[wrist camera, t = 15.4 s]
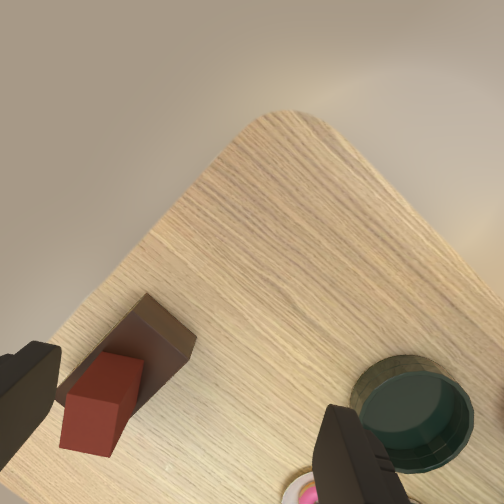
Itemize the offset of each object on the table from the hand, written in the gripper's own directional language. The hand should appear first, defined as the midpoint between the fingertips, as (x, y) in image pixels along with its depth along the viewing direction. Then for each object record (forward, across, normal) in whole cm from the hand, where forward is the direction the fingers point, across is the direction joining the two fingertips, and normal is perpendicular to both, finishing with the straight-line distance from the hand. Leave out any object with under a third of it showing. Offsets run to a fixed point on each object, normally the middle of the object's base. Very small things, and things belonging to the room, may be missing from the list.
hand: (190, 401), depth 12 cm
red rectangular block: (+23, +8, +15) cm, 28 cm away
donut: (+28, -15, +28) cm, 43 cm away
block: (+28, +8, +15) cm, 33 cm away
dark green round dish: (+28, -22, +14) cm, 38 cm away
